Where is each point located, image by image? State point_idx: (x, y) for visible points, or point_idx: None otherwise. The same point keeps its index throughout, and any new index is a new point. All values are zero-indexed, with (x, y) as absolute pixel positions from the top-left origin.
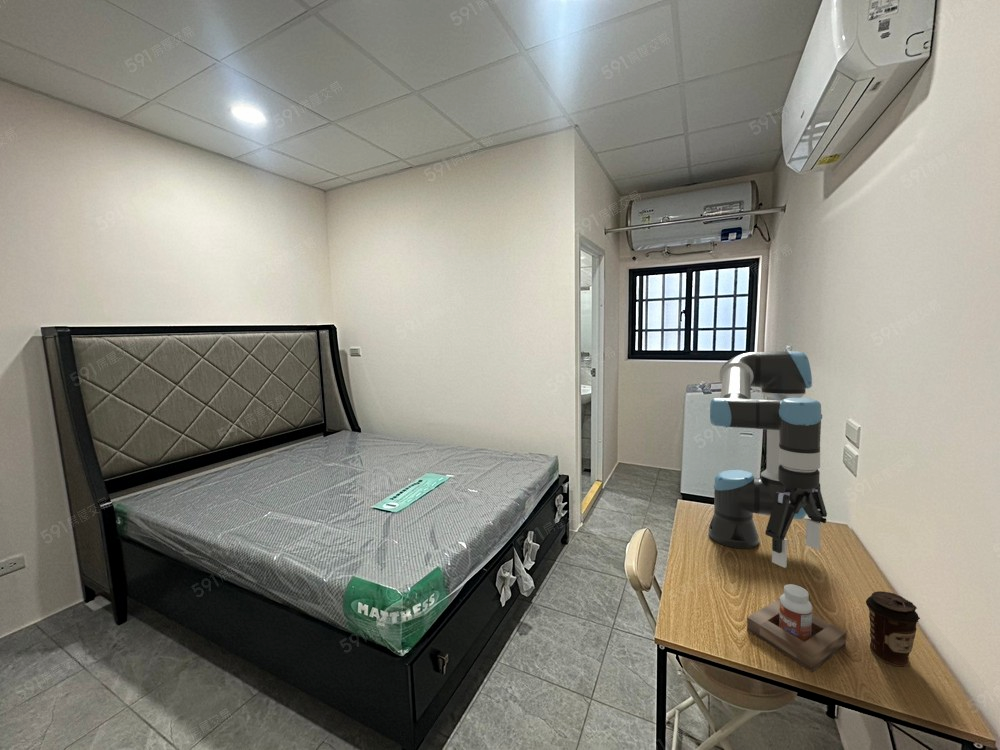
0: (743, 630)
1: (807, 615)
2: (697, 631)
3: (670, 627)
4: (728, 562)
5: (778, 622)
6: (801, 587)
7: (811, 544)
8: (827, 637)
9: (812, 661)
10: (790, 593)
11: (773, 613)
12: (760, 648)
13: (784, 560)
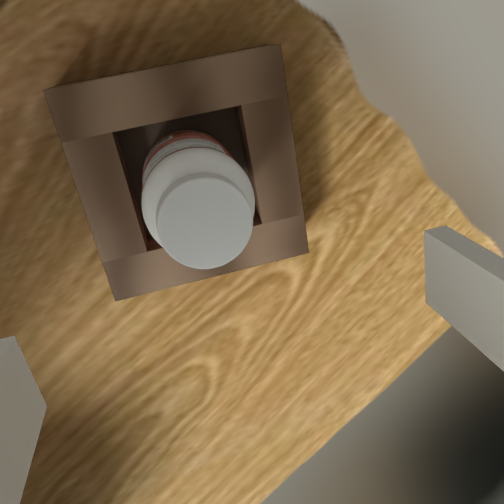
0: None
1: (202, 146)
2: (418, 268)
3: None
4: (85, 497)
5: None
6: (161, 235)
7: (26, 390)
8: (141, 94)
9: (273, 44)
10: (251, 215)
11: None
12: (321, 168)
13: (477, 246)
